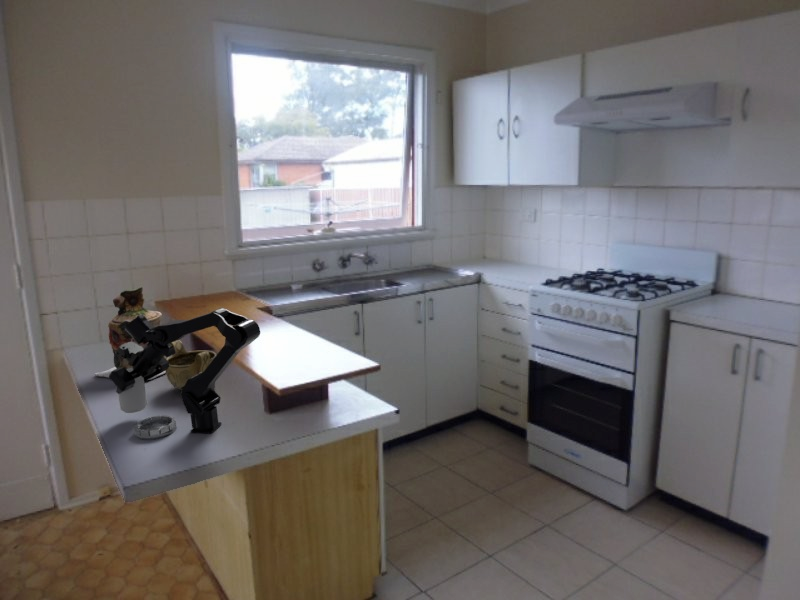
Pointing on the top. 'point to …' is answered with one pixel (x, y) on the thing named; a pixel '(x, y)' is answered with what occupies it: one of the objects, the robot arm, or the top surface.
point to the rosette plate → (155, 427)
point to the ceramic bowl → (186, 364)
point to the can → (134, 396)
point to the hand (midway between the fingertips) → (127, 387)
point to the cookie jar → (129, 310)
